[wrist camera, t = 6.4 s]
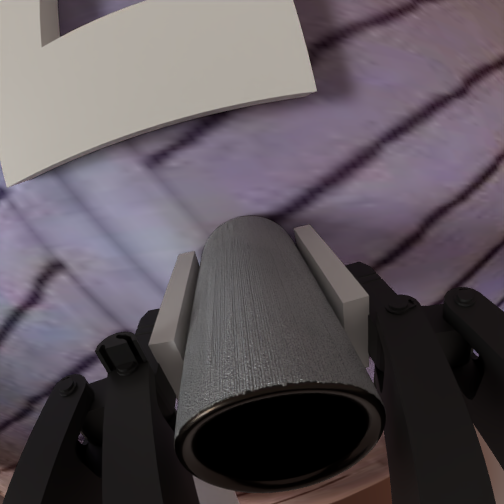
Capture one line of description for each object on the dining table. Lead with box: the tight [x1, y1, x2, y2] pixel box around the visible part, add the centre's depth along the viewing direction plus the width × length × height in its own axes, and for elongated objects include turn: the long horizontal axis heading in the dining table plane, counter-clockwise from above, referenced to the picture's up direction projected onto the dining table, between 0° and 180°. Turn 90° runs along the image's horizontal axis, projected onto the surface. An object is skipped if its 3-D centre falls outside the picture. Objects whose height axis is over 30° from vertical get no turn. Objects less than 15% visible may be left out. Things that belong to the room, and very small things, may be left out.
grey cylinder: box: [174, 216, 386, 493], centre depth 10 cm, size 4×4×10 cm
